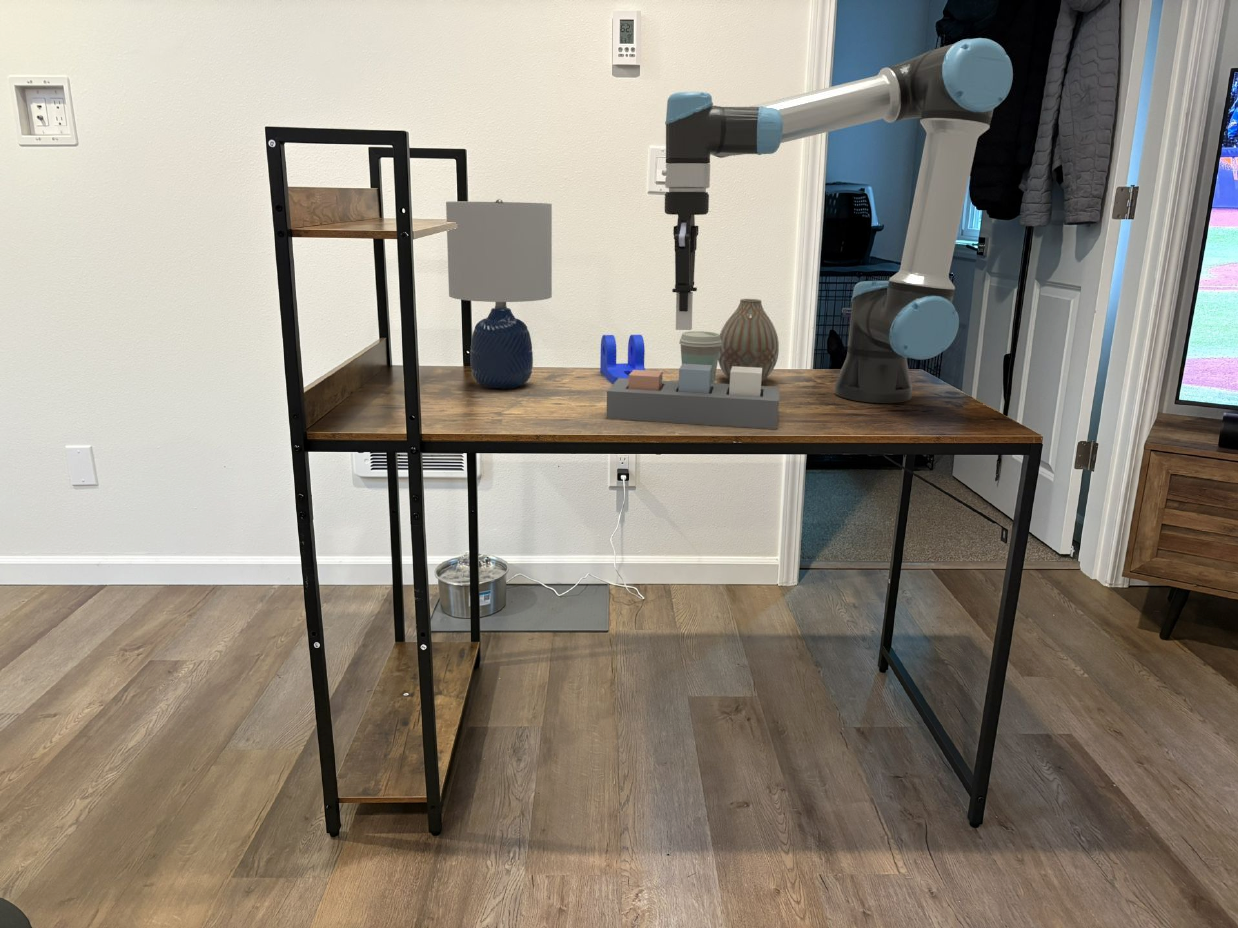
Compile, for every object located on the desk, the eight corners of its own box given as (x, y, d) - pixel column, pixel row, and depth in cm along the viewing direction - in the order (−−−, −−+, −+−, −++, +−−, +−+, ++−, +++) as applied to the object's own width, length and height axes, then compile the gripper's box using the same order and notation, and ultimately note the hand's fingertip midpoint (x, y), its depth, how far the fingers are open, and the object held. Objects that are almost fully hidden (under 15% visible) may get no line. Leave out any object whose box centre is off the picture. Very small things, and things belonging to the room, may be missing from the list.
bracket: (600, 373, 203) (600, 332, 200) (636, 372, 205) (637, 332, 202) (617, 389, 186) (618, 346, 183) (656, 389, 188) (658, 345, 185)
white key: (760, 391, 164) (762, 367, 163) (759, 398, 159) (761, 373, 158) (730, 390, 165) (732, 366, 164) (728, 396, 160) (730, 371, 159)
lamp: (503, 401, 173) (500, 200, 162) (431, 386, 184) (423, 197, 174) (571, 385, 188) (572, 201, 178) (501, 372, 200) (498, 198, 189)
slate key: (710, 389, 166) (712, 365, 164) (708, 395, 160) (709, 370, 159) (681, 387, 166) (682, 363, 165) (678, 393, 161) (679, 369, 160)
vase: (774, 376, 202) (780, 297, 197) (778, 388, 190) (784, 304, 185) (715, 374, 203) (719, 295, 198) (715, 386, 191) (719, 302, 186)
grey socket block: (777, 413, 168) (779, 387, 167) (776, 429, 157) (778, 401, 155) (618, 403, 173) (618, 378, 171) (606, 418, 162) (606, 391, 160)
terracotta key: (661, 394, 167) (662, 371, 166) (657, 401, 162) (658, 376, 161) (632, 393, 168) (633, 369, 167) (628, 399, 163) (628, 375, 162)
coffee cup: (717, 398, 179) (720, 338, 176) (674, 396, 181) (676, 336, 177) (721, 390, 187) (724, 332, 184) (680, 387, 189) (682, 329, 185)
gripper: (670, 190, 161) (667, 323, 168) (659, 190, 149) (657, 334, 155) (712, 190, 160) (708, 324, 166) (705, 190, 147) (701, 335, 154)
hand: (683, 329), depth 161 cm, fingers closed
